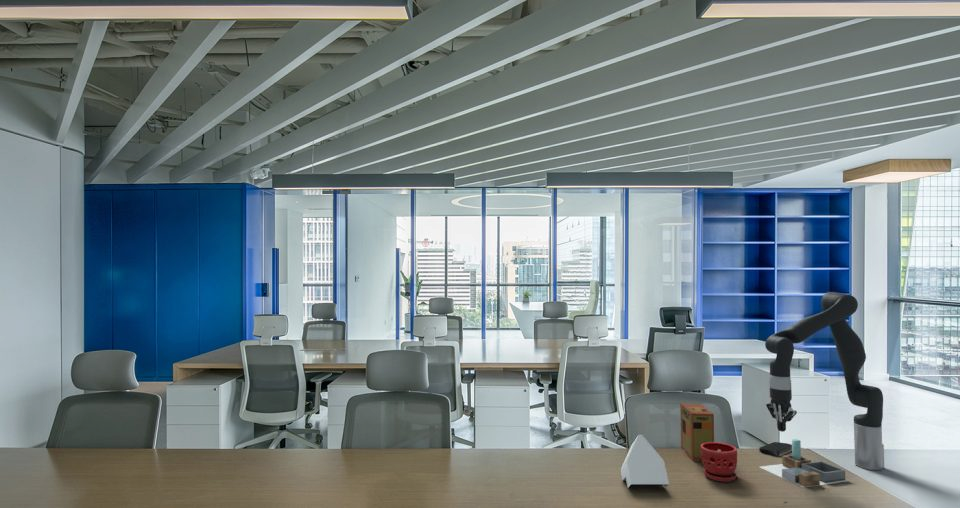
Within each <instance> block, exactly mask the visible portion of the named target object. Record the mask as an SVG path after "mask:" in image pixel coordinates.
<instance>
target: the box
mask: <svg viewBox="0 0 960 508" xmlns="http://www.w3.org/2000/svg"><path fill="white" fill-rule="evenodd" d="M679 413H680V448H681V449H682V450H683V451H684V450H685V451H684V452H685V454H686V455H687V456H688V457H689V458H690V460H691V461H692V460H693V461H694V462H702V457H701V444H703V443H708V442H715V422H714V421H715V416H714V413H713V412H712V411H710V410H709V409H708V407H705V406H704V405H703V404H701V403H680V411H679ZM712 451H713V450H712ZM693 461H692V462H693Z"/></svg>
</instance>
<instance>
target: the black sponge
mask: <svg viewBox="0 0 960 508" xmlns="http://www.w3.org/2000/svg"><path fill="white" fill-rule="evenodd" d="M758 451H759V452H760V453H762V454H765V455H770V456H772V457H781V456H784V455H785V454H786V455H787V453H790V452H792V443H786V442H781V441H780V442H778V441H774V442H773V441H772V442H770V443H768V444H766V445H763V446H760V447H759V450H758Z"/></svg>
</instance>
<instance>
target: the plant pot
mask: <svg viewBox="0 0 960 508" xmlns="http://www.w3.org/2000/svg"><path fill="white" fill-rule="evenodd" d="M712 450H713V451H712ZM719 450H720V451H719ZM701 457H702V461H701V462H702V464H703V467H704V470H703V473H704V475H705V476H706V477H707V478H708V479H710V480H713V481H717V482H724V483H725V482H732V481H735V480H736V478H737V473H736V470H737V464H738V449H737V447H736V446H733V445H732V444H728V443H723V442H715V441H714V442H708V443H703V444H701Z"/></svg>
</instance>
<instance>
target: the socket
mask: <svg viewBox="0 0 960 508" xmlns="http://www.w3.org/2000/svg"><path fill="white" fill-rule="evenodd" d="M781 456H782V457H781V459H782V464H783V466H785V467H787V468H798V467H799V468H801V469H802V466H801V464H802V463H810V462H812V459H809V458H806V457H804V456H802V455H801V460H795V459H792V454H786V455H785V454H783V455H781Z"/></svg>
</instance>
